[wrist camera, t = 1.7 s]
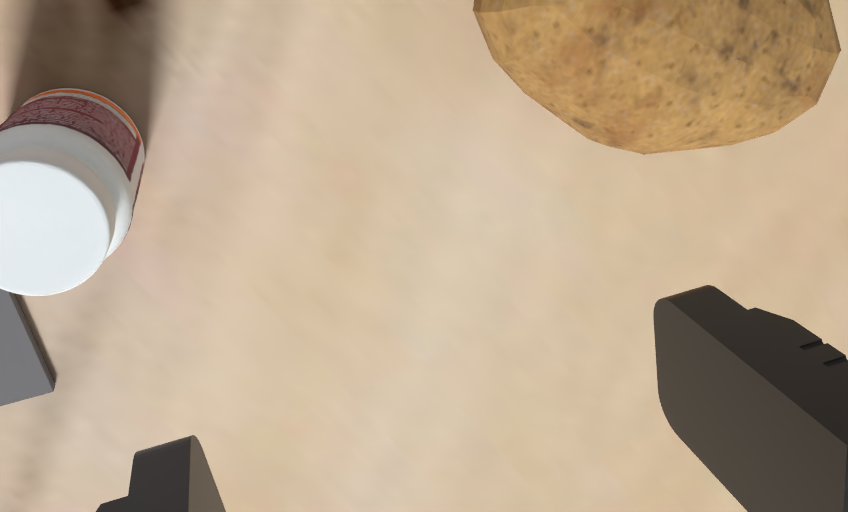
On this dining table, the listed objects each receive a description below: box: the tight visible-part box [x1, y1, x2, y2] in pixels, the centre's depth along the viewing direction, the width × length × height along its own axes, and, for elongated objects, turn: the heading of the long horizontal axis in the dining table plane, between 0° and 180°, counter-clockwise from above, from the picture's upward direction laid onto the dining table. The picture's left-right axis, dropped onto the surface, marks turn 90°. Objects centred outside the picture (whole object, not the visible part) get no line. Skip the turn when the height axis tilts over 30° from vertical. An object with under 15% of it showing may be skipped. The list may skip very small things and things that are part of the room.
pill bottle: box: [0, 88, 145, 296], centre depth 25 cm, size 5×5×8 cm
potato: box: [473, 0, 841, 154], centre depth 28 cm, size 10×14×8 cm
